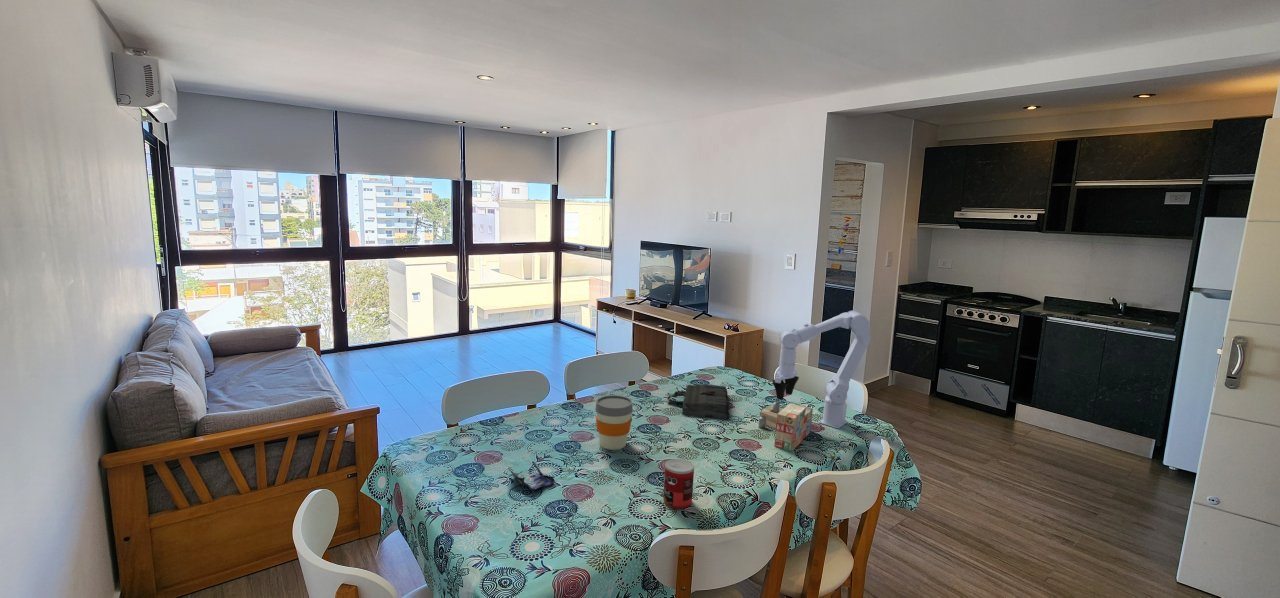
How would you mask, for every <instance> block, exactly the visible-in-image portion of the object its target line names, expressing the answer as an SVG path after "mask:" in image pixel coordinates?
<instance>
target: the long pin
mask: <svg viewBox="0 0 1280 598" xmlns="http://www.w3.org/2000/svg"><path fill="white" fill-rule="evenodd" d="M772 405H773V413H776V414H778V413H779V409H780V408H781V402H779V401H774V402H773V404H772Z"/></svg>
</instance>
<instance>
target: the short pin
mask: <svg viewBox="0 0 1280 598" xmlns="http://www.w3.org/2000/svg"><path fill="white" fill-rule="evenodd" d="M759 416H760V415H759ZM758 418H759V417H758ZM766 427H767V426H766V417H764V416H760V418H759V419H758V428H759V429H761V430H765V429H766Z"/></svg>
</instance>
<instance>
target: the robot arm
mask: <svg viewBox="0 0 1280 598" xmlns="http://www.w3.org/2000/svg"><path fill="white" fill-rule="evenodd" d="M837 328H843V329H847V330H849V329H850V330H851V332H852V335H853V337H854V339H853V341H852V343H851V345H850V347H849V349H848V351H847V353H846V354H845V357H844V359H843V360H842V362H841V365H840V367H839V369H838V371H837V372H836V374H835V375H833V376H832V377H831V378H830V380H829V381H828V382H827V383H826V384H825V385H824V392H825V394H826V396H825V398H824V404H823V412H822V414H823V415H822V419H820V420H818V424H822V425H824V426H829V427H831V428H835V429H840V428H841V427H843V426H844V425H846V424H847V423H848V421H849V420H847V419H846V416H847V407H848V406H847V403H846V401H847V398H848V391H849V389H850V381H851V379H852V378H853V375H854V373H855V371H856V369H857V367H858V365H859V363H861V362H860V361H861V360H862V358H863V356H864V354H865V352H866V350H867V348H868V346H869V344H870V342H871V340H872V339H871V338H872V337H871V323H870V322H869V320H868V318H867V317H866V316H865V315H863V314H861V313H860V311H858V310H855V309H854V310H849V311H847V312H842V313H839V315H836V316H833V317H832V318H829V319H827V320H824V321H822V322H819V323H817V324H815V325H814V324H812V323H807V322H806V323H803V325H802V326H799V327H797V328H791V330H785V331H783V332H782V333H781V335H780V337H779V340H780V342H781V346H780V355H779V364H778V370H777V371H776V372H775V374H776V376H775V379H772V385H773V387H774V390H775V394H776V399H777V400H781V401H782V400H784V397H785V394H786V395H789V396H791V395H793V391H794V389H795V386H796V384H797V383H798V381H799V379H800V377H799V376H797V374H798V373H797V372H798V371H797V369H795V367H796V358H797V356H796V354H797V347H798V345H799V344H800V345H801V344H803V343H805V342H808V341H811V340H814V339H817V337H818V335H819V334H821V333H824V332H827V331H830V330H833V329H837Z"/></svg>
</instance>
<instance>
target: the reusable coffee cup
mask: <svg viewBox="0 0 1280 598" xmlns="http://www.w3.org/2000/svg"><path fill="white" fill-rule="evenodd" d="M596 399H597V400H596V402H595V408H594V410H595V412H596V416H595V423H596V431H597V432H598V441H599V445H600V447H601V448H603V449H605V450H612V451H613V450H614V451H615V450H621V449H624V448H625V447H626V446H627V441H628V435H629V433H630V430H631V426H632V419H633V418H632V417H633V416H632V413H633V411H634V410H633V409H634V408H633V400H632V399H631V398H629V397H627V396H623V395H615V394H614V395H612V394H611V395H605V396H600V397H598V398H596Z"/></svg>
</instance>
